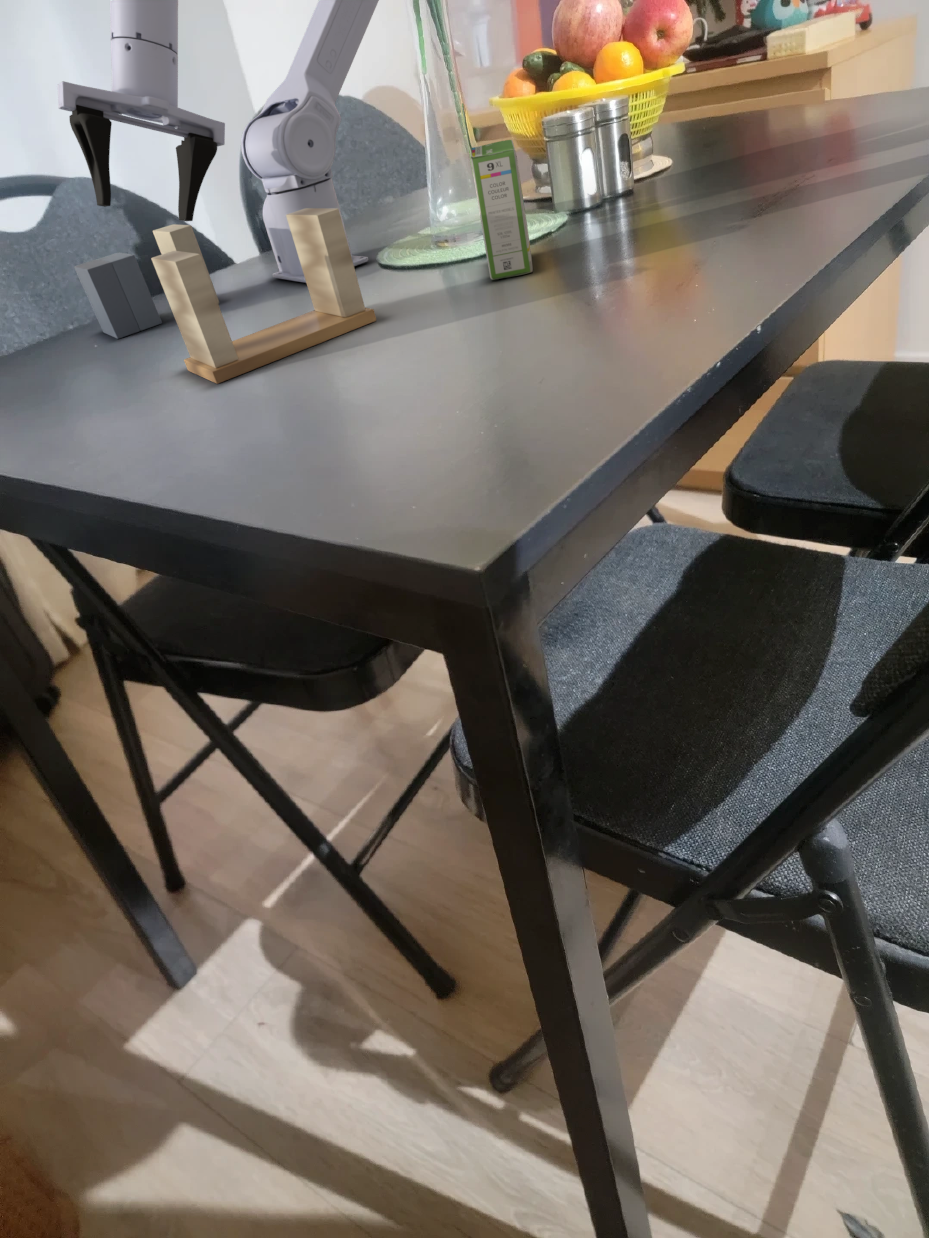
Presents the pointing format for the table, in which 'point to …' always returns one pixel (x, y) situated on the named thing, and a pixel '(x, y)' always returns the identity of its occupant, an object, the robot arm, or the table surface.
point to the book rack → (333, 316)
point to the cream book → (179, 242)
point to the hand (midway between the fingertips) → (145, 213)
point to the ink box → (501, 207)
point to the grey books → (118, 294)
